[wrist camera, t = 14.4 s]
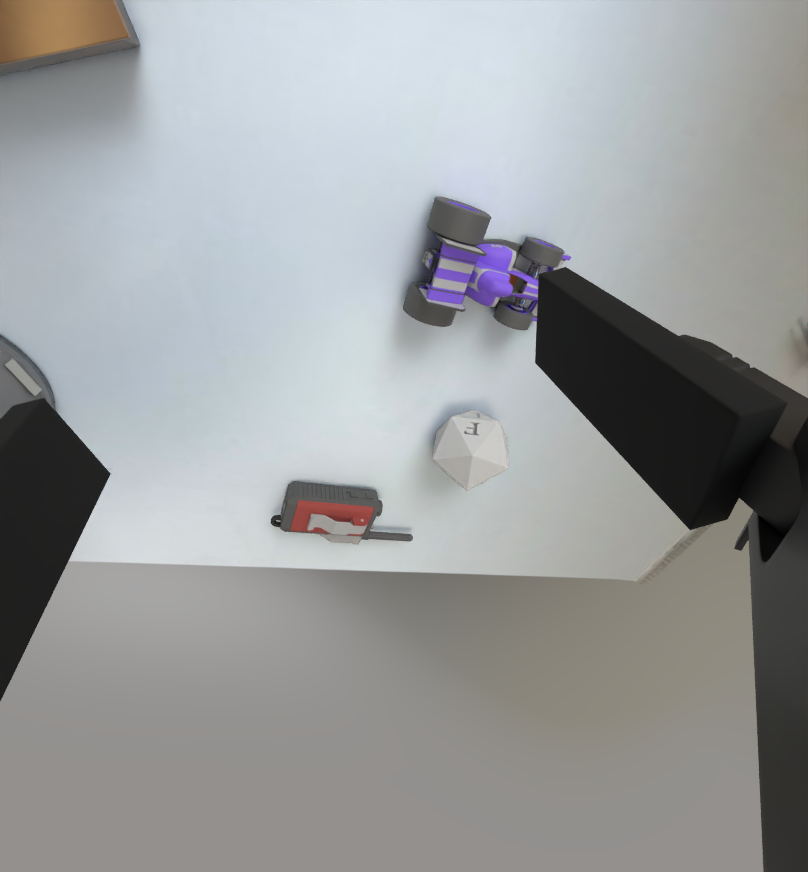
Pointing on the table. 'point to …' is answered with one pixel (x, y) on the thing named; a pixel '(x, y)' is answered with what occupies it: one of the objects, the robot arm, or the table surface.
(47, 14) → the shelf riser
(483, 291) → the toy race car
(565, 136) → the table surface
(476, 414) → the die
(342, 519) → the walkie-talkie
